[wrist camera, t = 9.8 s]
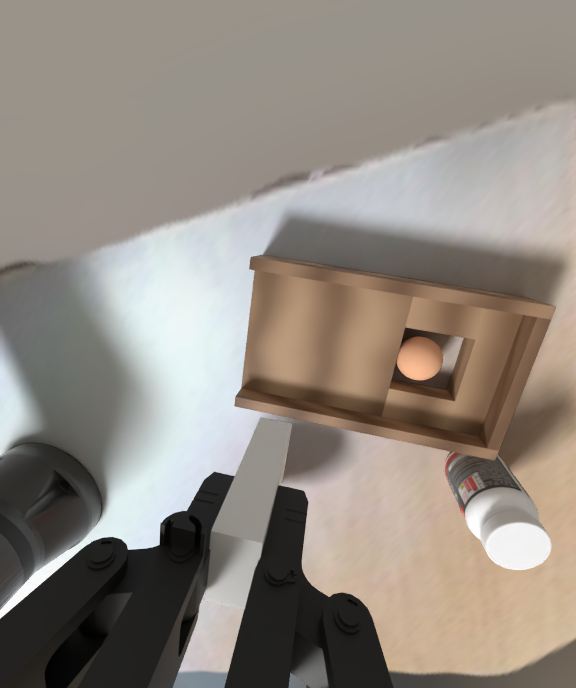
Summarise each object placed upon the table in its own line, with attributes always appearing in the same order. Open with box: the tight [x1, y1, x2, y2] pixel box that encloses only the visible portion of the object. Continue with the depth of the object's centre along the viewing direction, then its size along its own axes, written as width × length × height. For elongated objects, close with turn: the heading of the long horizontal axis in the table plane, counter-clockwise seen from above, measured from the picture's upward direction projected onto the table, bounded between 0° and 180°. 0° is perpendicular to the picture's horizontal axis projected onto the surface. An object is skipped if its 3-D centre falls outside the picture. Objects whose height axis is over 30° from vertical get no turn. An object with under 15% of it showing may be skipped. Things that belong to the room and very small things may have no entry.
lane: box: [235, 255, 556, 461], centre depth 32 cm, size 24×14×4 cm, turn 81°
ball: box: [396, 337, 443, 380], centre depth 31 cm, size 4×4×4 cm
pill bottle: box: [444, 452, 552, 570], centre depth 31 cm, size 6×6×10 cm
